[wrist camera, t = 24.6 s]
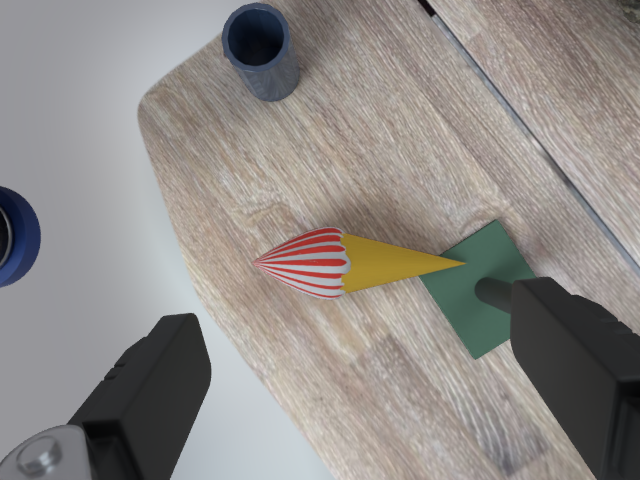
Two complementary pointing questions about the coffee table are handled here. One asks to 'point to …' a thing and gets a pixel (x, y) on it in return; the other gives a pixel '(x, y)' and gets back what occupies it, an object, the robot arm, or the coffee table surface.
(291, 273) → the ice cream cone
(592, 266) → the coffee table surface
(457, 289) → the felt pad
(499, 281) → the cylinder
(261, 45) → the pen cup
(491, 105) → the coffee table surface
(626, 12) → the mineral specimen
